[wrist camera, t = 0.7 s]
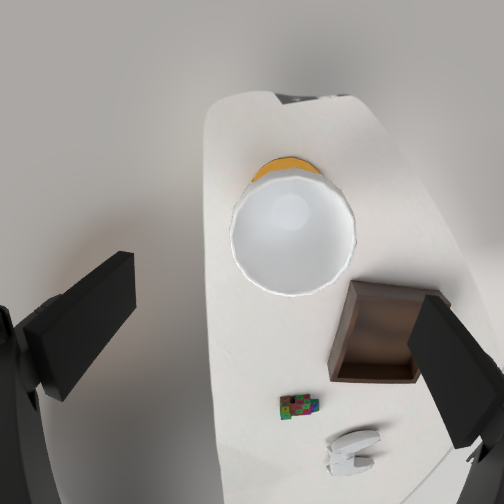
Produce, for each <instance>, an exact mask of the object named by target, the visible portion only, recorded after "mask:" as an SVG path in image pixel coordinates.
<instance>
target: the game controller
mask: <svg viewBox="0 0 504 504" xmlns="http://www.w3.org/2000/svg"><path fill="white" fill-rule="evenodd" d="M378 441H380V435H379V433H378V432H376V431H372V430H364V431H357V432H353V433H350V434H347V435H344V436H342V437H340V438H338V439H336V440H335V441H333V442H332V443H330V446H328V447H327V451H328V453H329V454H330V463H329V465H328V466H326V470H327V471H328V473H329V474H331V476H347V475H353V474H357V473H361V472H364V471H366V470H368V469H370V468H372V467H373V465H374V461H373V460H372V459H369V458H362V457H355V453H357V452H358V451H359V450H361V449H364V448H366V447H369V446H371V445H373V444H375V443H376V442H378ZM354 457H355V458H354Z"/></svg>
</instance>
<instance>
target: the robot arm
mask: <svg viewBox="0 0 504 504" xmlns="http://www.w3.org/2000/svg"><path fill="white" fill-rule="evenodd" d="M134 269H135V268H134V253H130V252H124V251H118V252H117V253H116V254H114V255H113V256H111V257H110V258H109V259H107V260H106V261H105V262H103V263H102V264H101V265H99V266H98V267H97V268H95V269H94V270H93V271H92V272H90V273H89V274H88V275H86V276H85V277H84V278H82V279H81V280H80V281H79V282H77V283H76V284H75V285H74V286H73V287H71V288H70V289H69V290H67V291H66V292H65V293H64V294H59V295H57V296H54V297H52V298H50V299H48V300H47V301H45V302H44V303H43V304H42V305H41V306H40V307H38V308H37V309H36V310H34V313H33V312H32V313H31V314H30V315H28V316H27V317H26V318H25V319H23V320H22V321H21V322H20V323H19V324H17V325H16V326H15V327H14V328H13V324H12V321H11V317H10V314H9V310H8V309H7V308H6V307H5V306H1V305H0V504H61V501H60V498H59V494H58V491H57V488H56V484H55V481H54V477H53V473H52V470H51V465H50V461H49V457H48V452H47V448H46V443H45V438H44V432H43V427H42V420H41V414H40V407H39V399H38V394H37V392H36V389H35V388H36V387H37V386H38V384H39V383H40V382H41V384H42V386H43V389H44V391H45V394H46V395H48V396H50V397H53V398H55V399H57V400H59V401H61V402H63V401H64V400H65V398H66V397H67V396H68V394H69V393H70V392H71V390H72V389H73V388H74V386H75V385H76V384H77V382H78V381H79V380H80V378H81V377H82V376H83V374H84V373H85V372H86V370H87V369H88V368H89V366H90V365H91V364H92V363H93V361H94V360H95V359H96V357H97V356H98V355H99V353H100V352H101V351H102V350H103V348H104V347H105V346H106V345H107V343H108V342H109V341H110V339H111V338H112V337H113V336H114V334H115V333H116V332H117V331H118V329H119V328H120V327H121V326H122V324H123V323H124V322H125V321H126V319H127V318H128V317H129V316H130V315H131V313H132V312H133V311H134V310H135V308H136V292H135V270H134ZM407 346H408V348H409V350H410V352H411V354H412V356H413V358H414V360H415V362H416V364H417V366H418V368H419V370H420V372H421V374H422V376H423V378H424V380H425V382H426V384H427V386H428V388H429V391H430V393H431V395H432V397H433V399H434V401H435V404H436V406H437V408H438V410H439V412H440V415H441V417H442V419H443V422H444V424H445V426H446V429H447V431H448V433H449V436H450V438H451V440H452V443H453V445H454V448H455V449H459V448H464V447H468V446H471V445H472V444H473V442H474V441H475V440H476V439H477V438H478V436H479V435H480V436H481V439H482V440H483V441H482V442H481V444H480V445H479V446H478V447H477V448H476V449H475V451H474V452H473V453H472V454H471V455H470V456H469V457H468V459H467V460H466V461H467V462H469V461H470V459H471V458H473V457H474V460H473V462H472V466H471V469H470V471H469V474H468V477H467V479H466V482H465V485H464V487H463V490H462V492H461V494H460V497H459V499H458V501H457V504H504V374H503V373H502V371H501V370H500V368H499V367H497V364H496V363H495V362H494V360H493V359H492V358H491V357H490V356H489V355H488V354H487V353H485V352H484V350H483V349H482V348H481V346H480V345H479V344H478V343H477V341H476V340H475V339H474V338H473V336H472V335H471V334H470V332H469V331H468V330H467V329H466V328H465V326H464V325H463V324H462V323H461V321H460V320H459V319H458V318H457V317H456V315H455V314H454V313H453V312H452V311H451V309H450V308H449V307H448V306H447V305H446V304H445V302H444V301H443V300H442V299H441V298H440V297H439V296H436V295H427V294H426V295H425V298H424V301H423V303H422V306H421V309H420V312H419V314H418V317H417V319H416V322H415V325H414V327H413V330H412V332H411V335H410V337H409V339H408V342H407Z"/></svg>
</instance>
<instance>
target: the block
mask: <svg viewBox="0 0 504 504" xmlns="http://www.w3.org/2000/svg"><path fill="white" fill-rule="evenodd" d="M317 411H319V400H318V399H315V400H310V394H309V395H299V396H295V403H293V404H290V396H287V397H280V416H281V420H285V419H291V416H299V415H309V414H311V413H312V412H317Z"/></svg>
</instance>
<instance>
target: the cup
mask: <svg viewBox="0 0 504 504" xmlns="http://www.w3.org/2000/svg"><path fill="white" fill-rule="evenodd" d="M229 238H230V243H231V248H232V253H233V258H234V260H235V262H236V263H237V265H238V266H239V268H240V269H241V271H242V272H243V274H244V275H245V276H246V278H247V279H248V280H250V281H251V282H253V283H254V284H256V285H257V286H259V287H260V288H262V289H263V290H264V291H266V292H269V293H273V294H278V295H282V296H286V297H295V296H303V295H311V294H314V293H316V292H318V291H320V290H322V289H324V288H326V287H328V286H329V285H331V284H333V283H334V282H335V281H336V280H337V279H338V278H339V277H340V275H341V274H342V273H343V272H344V271H345V270H346V269H347V267H348V266H349V264H350V262H351V259H352V256H353V253H354V250H355V247H356V244H357V239H356V226H355V217H354V214H353V211H352V209H351V207H350V205H349V203H348V201H347V200H346V198H345V196H344V194H343V192H342V190H341V189H339V188H338V187H337V186H336V185H334V184H333V183H332V182H330V181H329V180H328V179H327V178H325V177H324V176H323V175H321V174H320V172H319V171H318V170H317V169H316V168H315V167H313V166H312V165H311V164H309V163H308V162H307V161H304V160H300V159H296V158H292V157H288V158H282V159H275V160H273V161H272V162H270V163H268V164H267V165H265V166H263V167H262V168H261V169H260V170H259V172H258V173H257V174H256V176H255V177H254V179H253V180H252V183H251V184H249V185H248V187H247V188H246V189H245V191H244V192H243V194H242V195H241V196H240V198H239V199H238V201H237V202H236V204H235V205H234V209H233V214H232V219H231V224H230V228H229Z"/></svg>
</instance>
